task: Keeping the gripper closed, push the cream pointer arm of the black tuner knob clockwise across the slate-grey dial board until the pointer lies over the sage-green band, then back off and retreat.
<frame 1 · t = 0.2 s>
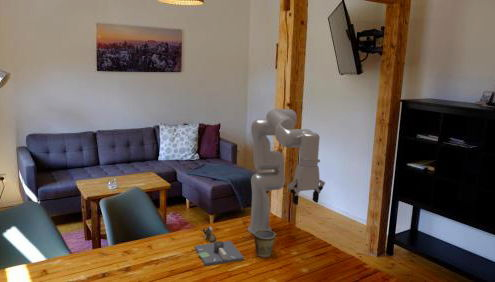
hand: (305, 202, 169), 31 cm above the table, fingers open, 9 cm apart
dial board: (218, 253, 188), on the table
peg: (221, 250, 184), point 3 cm above the table, hinge at 0.0°
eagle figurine: (208, 239, 203), on the table
ceramic cup: (264, 252, 191), on the table
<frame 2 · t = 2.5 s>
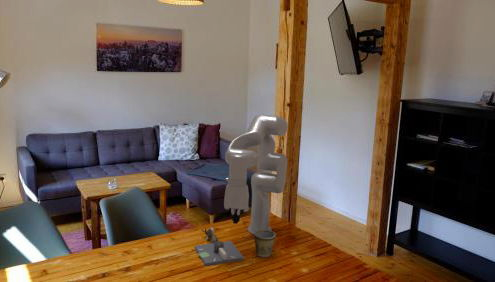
hand: (235, 222, 177), 19 cm above the table, fingers closed
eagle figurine: (209, 240, 202), on the table
everything else where it was.
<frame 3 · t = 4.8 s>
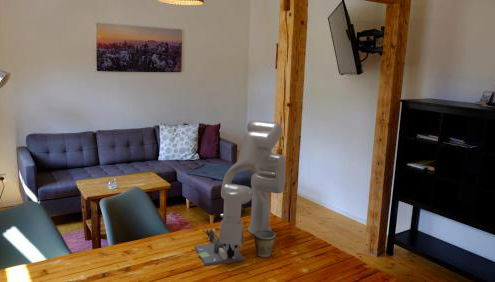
hand: (230, 257, 180), 2 cm above the table, fingers closed
peg: (221, 250, 184), point 3 cm above the table, hinge at -0.3°, touching gripper
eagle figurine: (211, 241, 201), on the table
everything else where it was.
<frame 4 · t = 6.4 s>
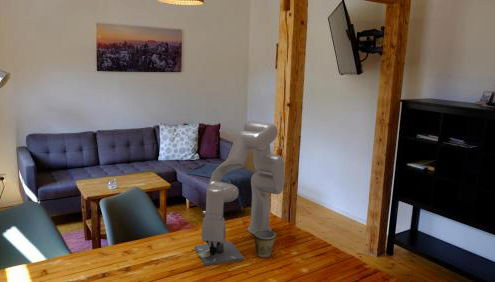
hand: (213, 254, 181), 3 cm above the table, fingers closed
peg: (213, 249, 185), point 3 cm above the table, hinge at -63.3°, touching gripper
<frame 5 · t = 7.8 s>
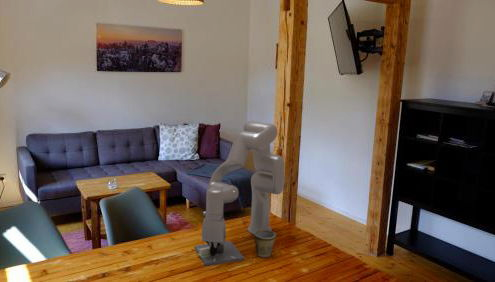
hand: (213, 254, 182), 2 cm above the table, fingers closed
peg: (212, 248, 185), point 3 cm above the table, hinge at -81.9°
everything else where it was.
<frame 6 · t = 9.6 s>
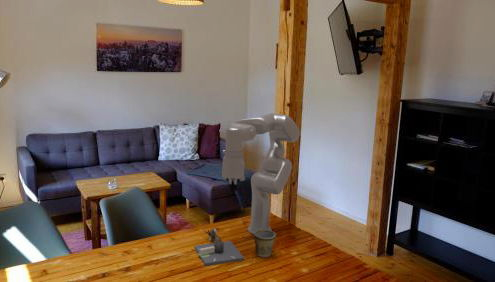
hand: (233, 191, 190), 28 cm above the table, fingers closed
nothing on the table moved.
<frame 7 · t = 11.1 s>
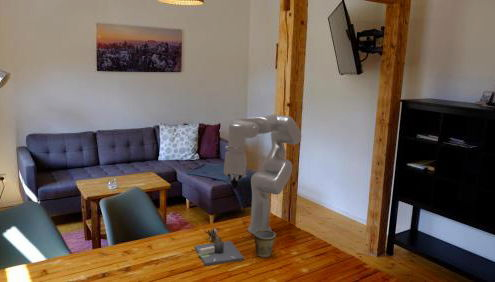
hand: (234, 187, 191), 29 cm above the table, fingers closed
nothing on the table moved.
at the end: peg at -82° (first picture: +0°) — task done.
